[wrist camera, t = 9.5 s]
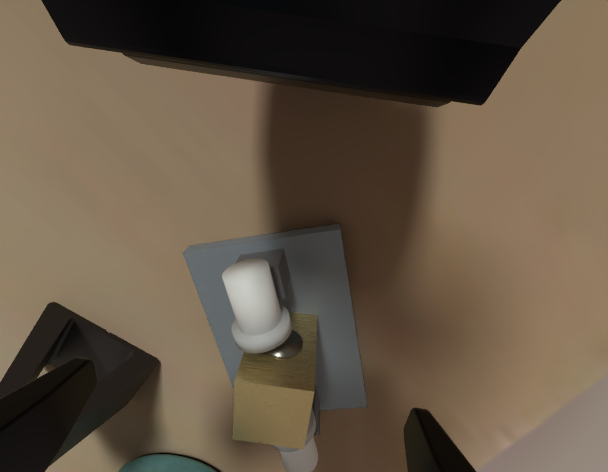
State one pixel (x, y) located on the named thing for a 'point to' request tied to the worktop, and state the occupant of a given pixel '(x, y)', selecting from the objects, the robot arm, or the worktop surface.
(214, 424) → the worktop surface
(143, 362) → the phone stand
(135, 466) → the flower pot
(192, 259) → the grey plate with pegs
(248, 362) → the tan block
